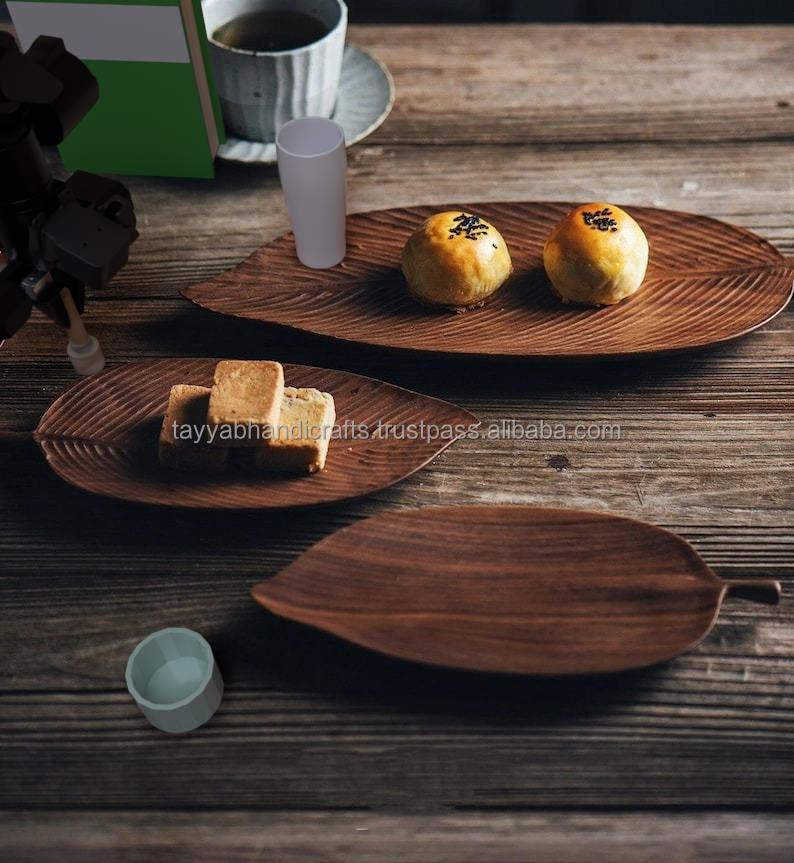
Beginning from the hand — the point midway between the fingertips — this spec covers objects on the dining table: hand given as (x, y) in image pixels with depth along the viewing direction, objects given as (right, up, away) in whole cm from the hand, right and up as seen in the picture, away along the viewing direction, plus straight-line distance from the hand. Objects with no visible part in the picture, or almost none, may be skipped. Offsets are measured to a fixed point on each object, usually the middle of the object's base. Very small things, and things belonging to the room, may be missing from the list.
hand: (71, 320), depth 86 cm
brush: (0, -4, +5) cm, 6 cm away
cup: (+14, -30, -15) cm, 37 cm away
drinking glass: (+22, +9, +15) cm, 28 cm away
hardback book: (0, +22, +26) cm, 34 cm away
